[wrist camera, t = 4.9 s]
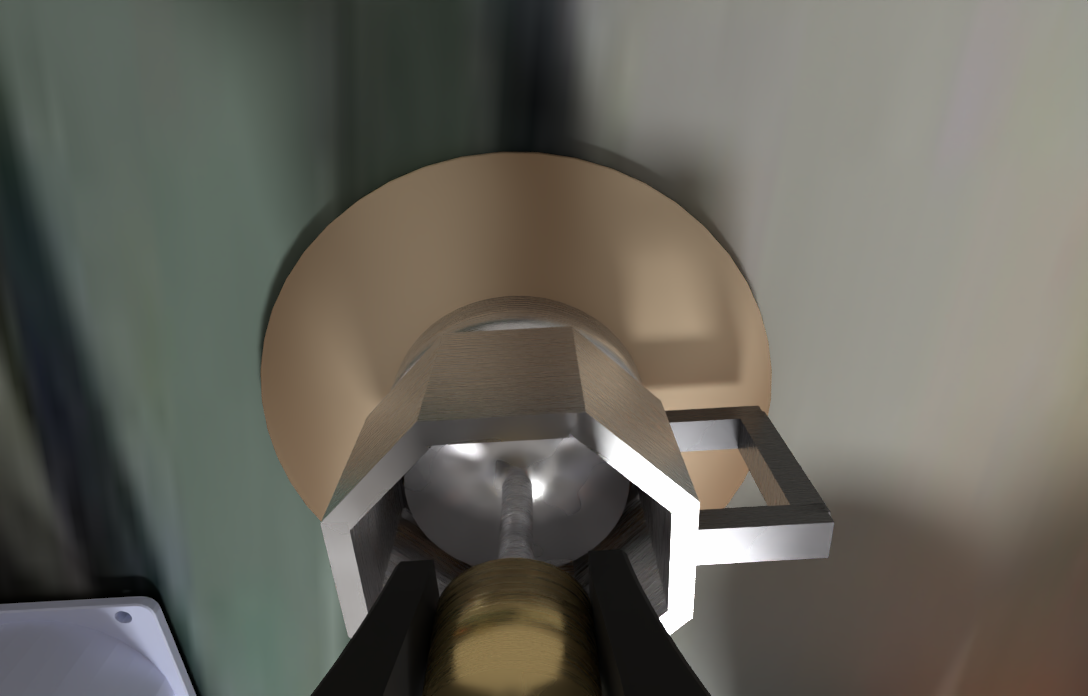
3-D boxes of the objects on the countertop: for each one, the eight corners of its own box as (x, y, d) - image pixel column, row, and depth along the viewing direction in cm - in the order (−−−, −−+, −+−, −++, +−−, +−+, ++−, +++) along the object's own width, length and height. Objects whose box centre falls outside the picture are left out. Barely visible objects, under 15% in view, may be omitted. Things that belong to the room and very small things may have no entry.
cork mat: (320, 603, 21) (317, 613, 21) (205, 168, 15) (198, 171, 15) (746, 579, 21) (749, 588, 21) (793, 135, 15) (799, 137, 15)
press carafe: (410, 521, 19) (365, 704, 14) (373, 303, 17) (297, 428, 11) (737, 503, 19) (819, 679, 14) (758, 281, 17) (872, 396, 11)
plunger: (422, 564, 17) (364, 849, 11) (392, 384, 14) (298, 618, 8) (626, 552, 17) (681, 832, 11) (627, 371, 14) (696, 596, 8)
